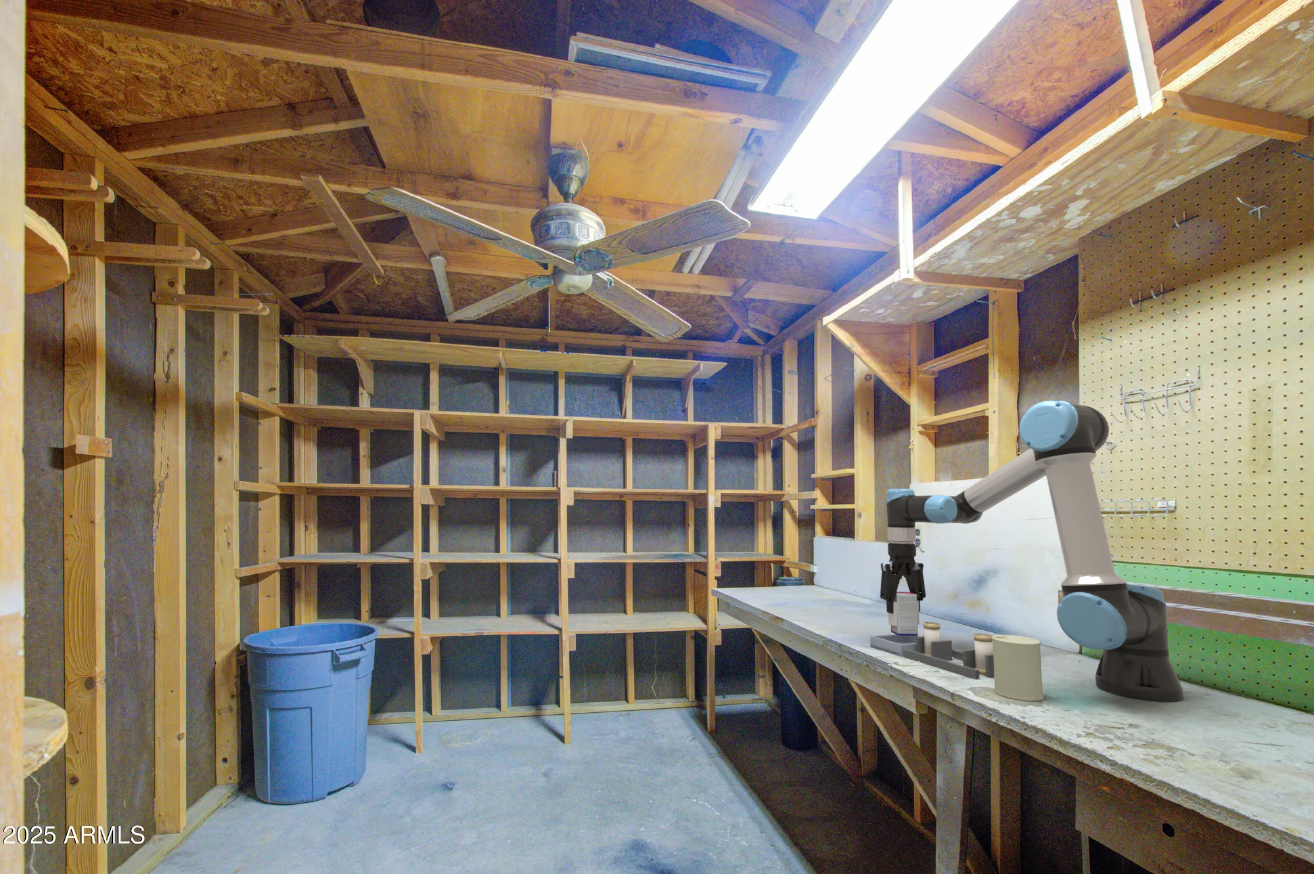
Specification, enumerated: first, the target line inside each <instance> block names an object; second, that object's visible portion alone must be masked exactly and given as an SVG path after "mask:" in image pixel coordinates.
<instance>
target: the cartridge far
mask: <svg viewBox="0 0 1314 874" xmlns="http://www.w3.org/2000/svg"><path fill="white" fill-rule="evenodd" d="M922 627H923V636H924V648H925V652H924V654H926V655H929V656H931V641H942V640H941V623H939V622H935V621H924V622H922Z"/></svg>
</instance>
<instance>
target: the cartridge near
mask: <svg viewBox="0 0 1314 874" xmlns="http://www.w3.org/2000/svg"><path fill="white" fill-rule="evenodd" d="M992 636H993V635H992V634H987V633H979V632H978V633H973V640H974V649H975V664H976V667H975V669H977V670H979V676H986V661H985V655H991V654H993V642H992Z"/></svg>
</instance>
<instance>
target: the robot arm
mask: <svg viewBox="0 0 1314 874" xmlns="http://www.w3.org/2000/svg"><path fill="white" fill-rule="evenodd" d="M1109 426H1110V425H1109V423H1108V421H1107V419H1106V417H1105V416H1104V415H1103V413H1101V412H1100V411H1099V410H1098V409H1096V408H1093V407H1092V406H1088V405H1084V404H1075V403H1071V402H1067V401H1064V400H1044V401H1041V402H1038V403H1035V404H1034V405H1032V406H1031V407H1029V409H1027V410H1026V412H1025V414H1024V415H1022V418H1021V420H1020V423H1019V436H1020V438H1021V440H1022V442H1023V443H1024V444H1025V445H1026V446H1027V447H1028V448H1029V449H1027V450H1025V451H1024V452H1023V453H1020V455H1018V456H1016V457H1015V458H1014V459H1012V460H1010V461H1009V462H1007V463H1006V464H1003V465H1001V467H998V468H997V469H996V470H994V471H993V472H991V473H990V474H988V475H986V476H985V477H983V478H982V479H980V480H978V481H977V482H975V483H974V484H972V485H971V486H969V487H968V488H966V489H965V490H963V491H961V492H960V493H958V494H957V495H953V496H952V495H944V494H943V495H942V494H934V495H933V494H931V495H916V494H915V490H914V489H913V488H890V489H888V490H887V492H886V503H885V505H886V516H887V517H886V518H887V527H886V528H887V541H888V544H887V555H888V556H889V560H888V562H886V563H884V562H881V563H880V569H881V570H880V571H881V576H880V577H881V579H880V591H879V598H880V599H881V600H883V601H885V604H886V607H885V608H886V612H887V613H888V615H887V617H888V619H887V620H888V623H887V624H888V625H890V626H891V625H893V626H898V624H897V602H894V600H895V596H896V593H897V592H898V588H899V585H900V581H901V580H902V578H904V580H905V581H906V584H907V585H906V586H907V587H908V592H910V593H913V594H916V595H917V617H918V625H920V612H921V602H923V601H924V599H926V597H927V593H926V585H925V580H924V579H925V578H924V563H921V562H916V559H915V557H917V544H915V543H914V542H917V540H916V538H917V535H916V523H926V524H927V523H929V524H971V523H975V522H978V521H979V520H980V519H981V518H982V516H983V513H984V512H986V511H988V510H990V509H992V508H993V507H994V506H996V505H998V504H1000V503H1001V502H1003V501H1005V500H1006V499H1007V500H1008V499H1009V498H1010V497H1012V496H1013V495H1015V494H1017V493H1018V492H1020V491H1022V490H1024V489H1025V488H1028V487H1029V486H1030V485H1033V484H1034V483H1036V482H1038V481H1039V480H1041V479H1042V478H1044V477H1046V480H1047V485H1048V490H1049V494H1050V499H1051V504H1052V509H1053V513H1054V518H1055V519H1054V520H1055V523H1056V527H1057V532H1058V538H1059V543H1060V548H1061V551H1062V556H1063V562H1064V566H1065V571H1066V578H1065V579H1063V580H1062V582H1061V583H1060V588H1061V592H1062V596H1063V598H1061V600H1060V602H1059V603H1058V605H1057V608H1056V617H1057V622H1058V625H1059V626H1060V628H1061V630H1062V631H1063V633H1064V634H1065V635H1066V636H1067V637H1068V638H1069V639H1071V641H1073V642H1075V643H1076V644H1077V645H1079V646H1081V647H1083V648H1087V649H1090V650H1091V649H1092V650H1095V651H1096V650H1102V653H1101V657H1100V659H1099V662H1098V664H1097V665H1098V666H1097V668H1096V672H1095V674H1094V675H1095V676H1094V677H1095V678H1094V679H1095V686H1096V687H1097V688H1098V689H1101V690H1103V691H1106V692H1109V693H1113V694H1116V695H1119V696H1124V697H1129V698H1134V699H1140V700H1147V701H1156V702H1157V701H1158V702H1177V701H1178V702H1179V701H1181V700H1183V699H1184V693H1183V691H1184V690H1183V686H1182V684H1181V682H1180V680H1179V677H1178V674H1177V673H1176V671H1175V669H1174V666H1173V665H1172V662H1171V659H1170V653H1169V637H1168V625H1167V624H1168V621H1167V609H1166V608H1167V604H1166V602H1165V596H1164V593H1163V591H1162V590H1161V589H1159V588H1156V587H1152V586H1147V585H1146V586H1145V585H1138V584H1137V585H1136V584H1128V583H1127V581H1126V580H1124V579H1123V578H1121V577H1120V576H1119V575H1118V574H1116V573H1115V568H1114V564H1113V560H1112V554H1111V551H1110V546H1109V541H1108V537H1107V532H1106V528H1105V524H1104V519H1103V516H1102V511H1101V507H1100V502H1099V498H1098V493H1097V489H1096V484H1095V480H1094V476H1093V471H1092V467H1091V463H1092V462H1093V460H1095V458H1096V457H1097V451H1098V450H1100V449H1101V448H1102V447H1103V446H1104V445H1105V444H1106V442H1107V440H1108V437H1109V433H1110V427H1109ZM890 596H891V597H890Z"/></svg>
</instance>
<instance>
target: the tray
mask: <svg viewBox="0 0 1314 874" xmlns="http://www.w3.org/2000/svg"><path fill="white" fill-rule="evenodd" d="M869 637H870V639H869V640H870V641H869V643H870V644H869V645H870V647H869V648H872V649H876V650H879V651H882V652H885V653H888V654H892V655H895V656H897V657H902V658H903V657H904V649H909V650H912V651H915V652H916V637H921V636H919V635H918V636H898V635H896V634H894V633H893V634H884V635H883V634H881V635H871V636H870V635H869Z"/></svg>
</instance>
